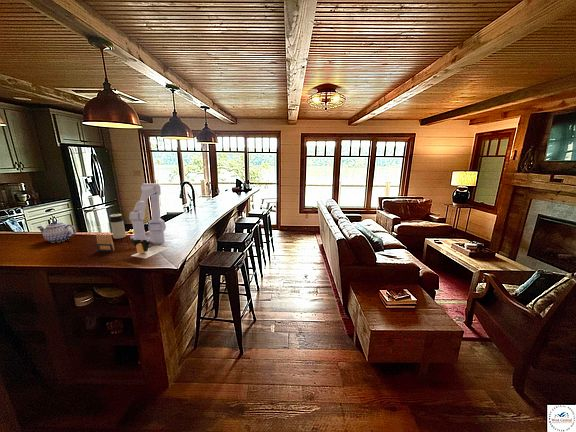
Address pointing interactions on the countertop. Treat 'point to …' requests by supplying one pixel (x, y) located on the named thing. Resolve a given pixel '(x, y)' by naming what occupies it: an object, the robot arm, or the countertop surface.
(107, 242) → the tan upright slab
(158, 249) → the mounting plate
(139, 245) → the cupcake
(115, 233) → the travel mug
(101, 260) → the countertop surface
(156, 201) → the robot arm
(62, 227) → the teapot
